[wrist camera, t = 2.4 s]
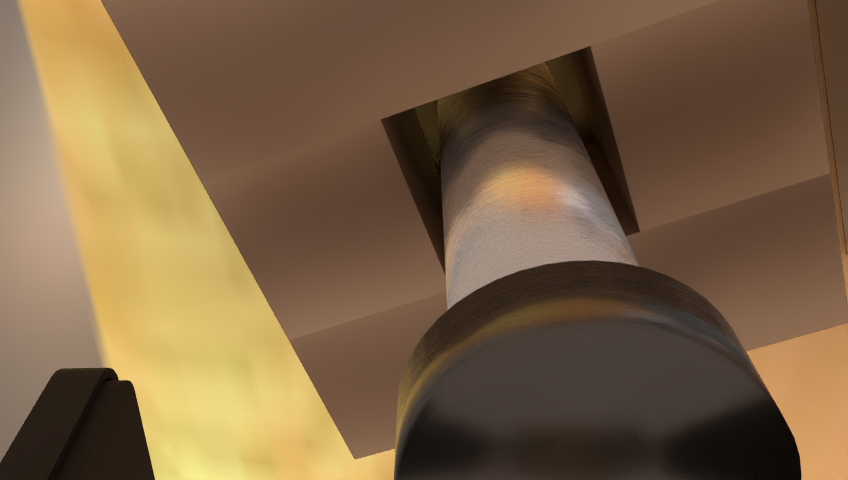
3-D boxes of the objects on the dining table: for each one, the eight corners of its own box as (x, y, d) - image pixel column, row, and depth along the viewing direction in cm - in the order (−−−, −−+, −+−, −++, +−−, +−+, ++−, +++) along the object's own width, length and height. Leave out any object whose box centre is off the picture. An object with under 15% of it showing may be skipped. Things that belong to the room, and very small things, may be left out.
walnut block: (766, 218, 22) (849, 322, 18) (366, 339, 24) (354, 459, 20) (681, -257, 17) (772, -273, 13) (174, -51, 19) (99, -3, 15)
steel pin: (600, 142, 21) (823, 587, 9) (443, 194, 22) (468, 667, 10) (555, -18, 19) (768, 291, 7) (384, 45, 20) (329, 417, 8)
